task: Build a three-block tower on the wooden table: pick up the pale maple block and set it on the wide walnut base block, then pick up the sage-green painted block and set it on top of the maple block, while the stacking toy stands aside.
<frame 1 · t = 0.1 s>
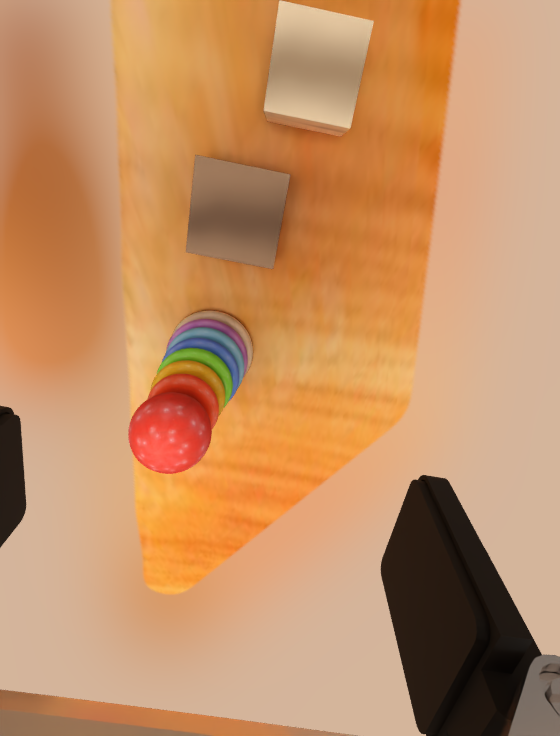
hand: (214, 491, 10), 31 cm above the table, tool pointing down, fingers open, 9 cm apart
maple block: (312, 85, 33), on the table
stacking toy: (213, 346, 42), on the table
walnut base: (242, 210, 37), on the table
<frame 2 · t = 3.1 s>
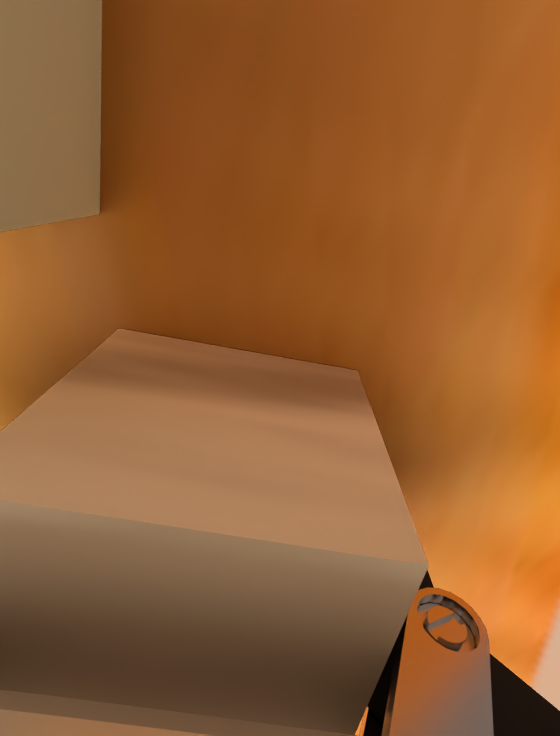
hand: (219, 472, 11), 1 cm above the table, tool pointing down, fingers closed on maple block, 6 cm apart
maple block: (224, 449, 12), on the table, touching gripper
when the fingers open (7 cm above the table, at t = 7.0 s): maple block drops 2 cm, resting on walnut base.
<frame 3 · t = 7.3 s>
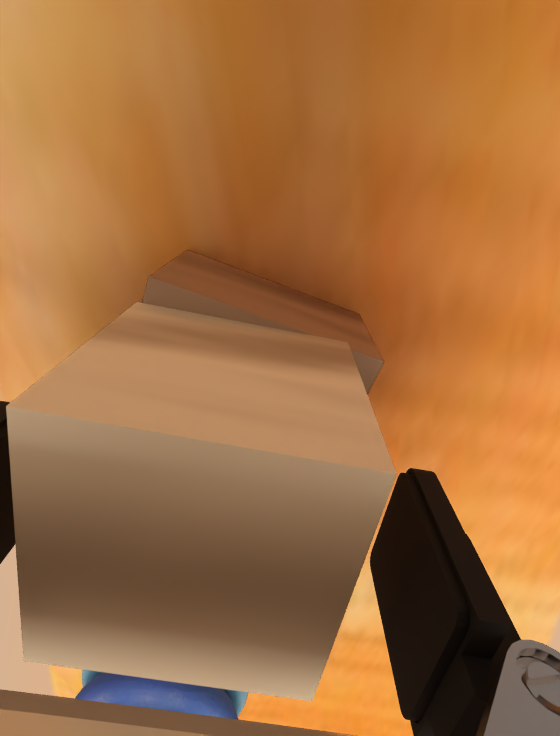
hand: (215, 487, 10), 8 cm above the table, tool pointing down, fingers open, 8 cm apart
maple block: (228, 414, 13), point 5 cm above the table, touching walnut base
stacking toy: (191, 577, 23), on the table
walnut base: (246, 360, 18), on the table, touching maple block
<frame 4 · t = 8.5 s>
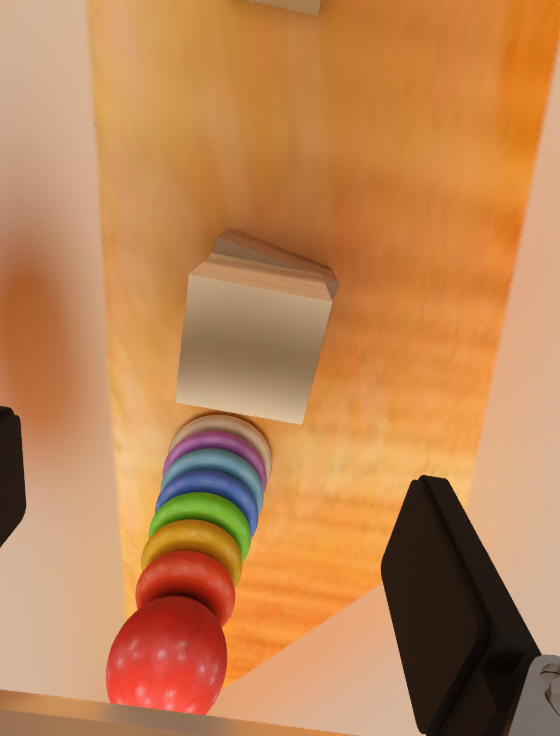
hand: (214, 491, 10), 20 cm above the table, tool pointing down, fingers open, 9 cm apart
maple block: (258, 316, 24), point 5 cm above the table
stacking toy: (222, 453, 34), on the table
walnut base: (262, 297, 29), on the table
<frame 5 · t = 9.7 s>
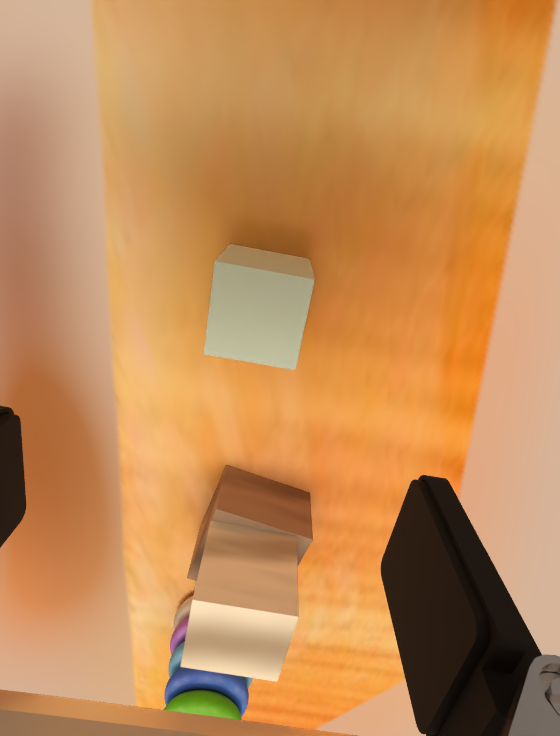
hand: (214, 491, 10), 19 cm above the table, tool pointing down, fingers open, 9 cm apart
sage block: (263, 290, 28), on the table
maple block: (246, 559, 31), point 5 cm above the table
stacking toy: (220, 613, 40), on the table
walnut base: (253, 509, 35), on the table
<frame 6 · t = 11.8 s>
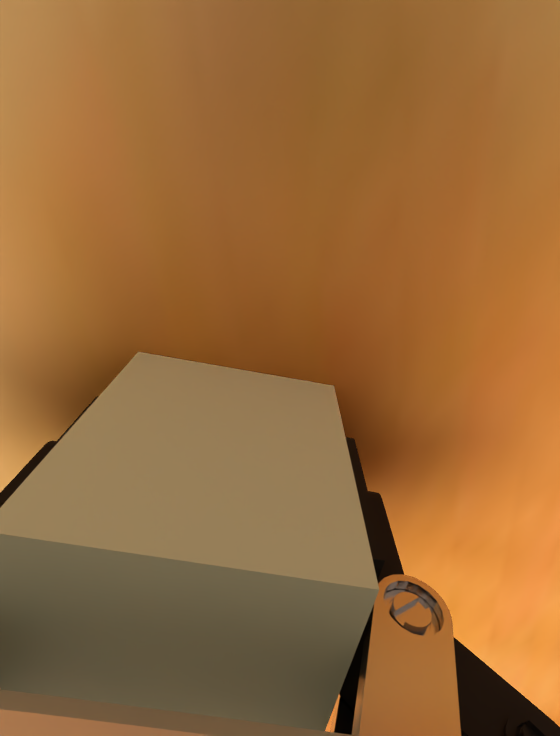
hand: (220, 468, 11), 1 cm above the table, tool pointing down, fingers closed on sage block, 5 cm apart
sage block: (224, 450, 12), on the table, touching gripper
when the fingers open (13 cm above the table, at t = 16.6 s): sage block drops 2 cm, resting on maple block.
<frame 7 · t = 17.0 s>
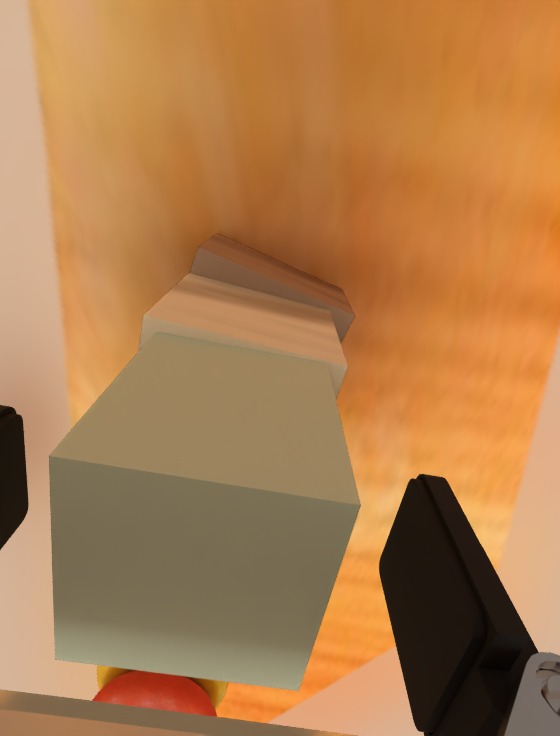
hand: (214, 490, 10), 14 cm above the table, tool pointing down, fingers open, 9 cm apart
sage block: (230, 421, 13), point 11 cm above the table, touching maple block
maple block: (244, 356, 19), point 5 cm above the table, touching sage block, walnut base
stacking toy: (210, 500, 29), on the table
walnut base: (255, 321, 24), on the table, touching maple block
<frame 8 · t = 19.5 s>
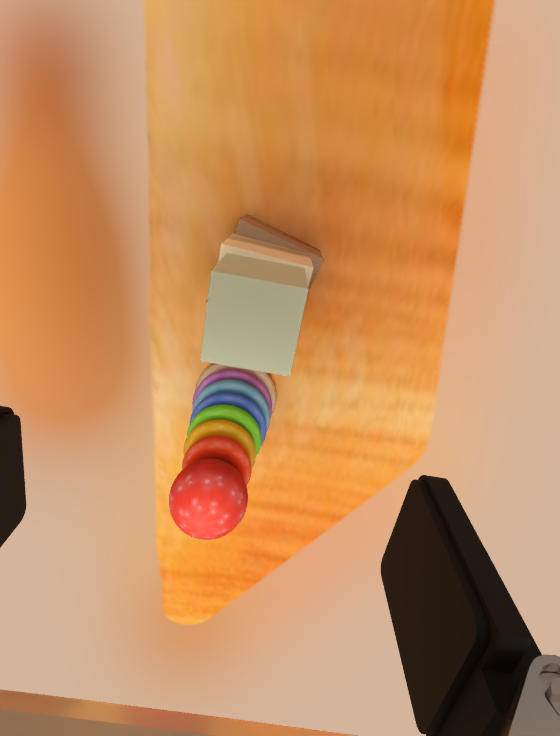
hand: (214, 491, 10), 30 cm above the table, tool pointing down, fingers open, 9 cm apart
sage block: (259, 298, 28), point 11 cm above the table, touching maple block
maple block: (262, 281, 34), point 5 cm above the table, touching sage block
stacking toy: (237, 391, 43), on the table
walnut base: (266, 269, 38), on the table
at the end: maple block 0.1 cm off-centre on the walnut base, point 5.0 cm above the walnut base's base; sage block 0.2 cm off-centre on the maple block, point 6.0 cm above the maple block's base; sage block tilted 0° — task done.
